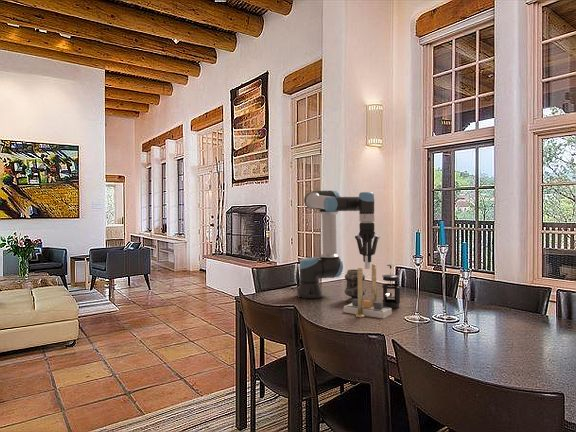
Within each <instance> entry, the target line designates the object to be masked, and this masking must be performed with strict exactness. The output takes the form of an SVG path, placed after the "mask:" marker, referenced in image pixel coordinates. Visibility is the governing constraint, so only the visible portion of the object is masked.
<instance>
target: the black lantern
mask: <svg viewBox="0 0 576 432" xmlns="http://www.w3.org/2000/svg"><path fill="white" fill-rule="evenodd" d="M386 266H387V267H389V270H390V271H389V272H390V273H389V274H383V275H382V276H381V277H382V280H383V281H384V282H385V281H386V282H390V283H382V286H381V287H382V288H383V289H382V290H383V291H382V292H383V293H382V297H383V298H382V301H381V302H383V307H389V308H392V310H397V309H400V307H401V306H400V304H401V301H400V300H401V299H400V297H401V296H400V293H401V288H400V284H397V283H392V282H398V281H399V277H400V275H398V274H392V269H393V268H392V267H395V266H396V265H395V264H386ZM388 290H389V291H390V293H388ZM392 290H394V293H392Z"/></svg>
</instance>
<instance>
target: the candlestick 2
mask: <svg viewBox="0 0 576 432" xmlns="http://www.w3.org/2000/svg"><path fill="white" fill-rule="evenodd" d="M371 301H372V305H374V302H377V264H376V263H375V264H374V263H373V264H372V263H371Z"/></svg>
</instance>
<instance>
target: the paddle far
mask: <svg viewBox="0 0 576 432" xmlns="http://www.w3.org/2000/svg"><path fill="white" fill-rule="evenodd" d="M374 308H375V309H383V302H382V301H376V302H374Z"/></svg>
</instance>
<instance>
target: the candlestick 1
mask: <svg viewBox="0 0 576 432" xmlns="http://www.w3.org/2000/svg"><path fill="white" fill-rule="evenodd" d="M357 270H358V314H355V317H356V318H359V319H360V318H361V319H363V318H365V317H366V316H365V314H363V300H364V299H363V296H364V295H363V288H364V280H363V279H362V272H363V268H362V267H357Z"/></svg>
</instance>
